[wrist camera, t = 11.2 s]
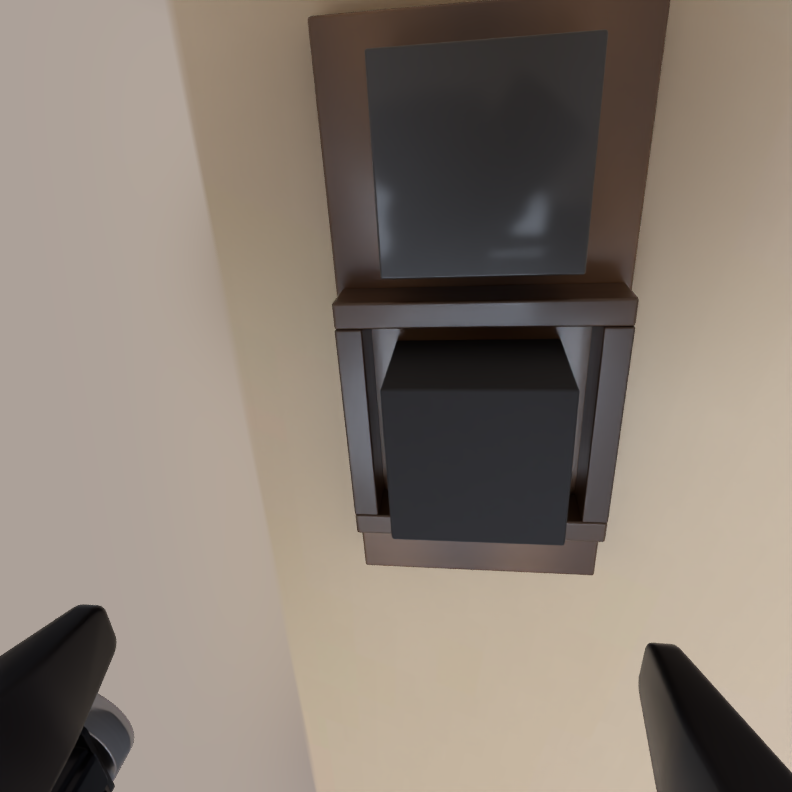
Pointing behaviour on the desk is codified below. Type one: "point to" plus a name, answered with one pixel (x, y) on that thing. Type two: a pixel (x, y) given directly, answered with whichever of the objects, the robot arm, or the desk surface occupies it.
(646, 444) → the desk surface
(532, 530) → the black cube
